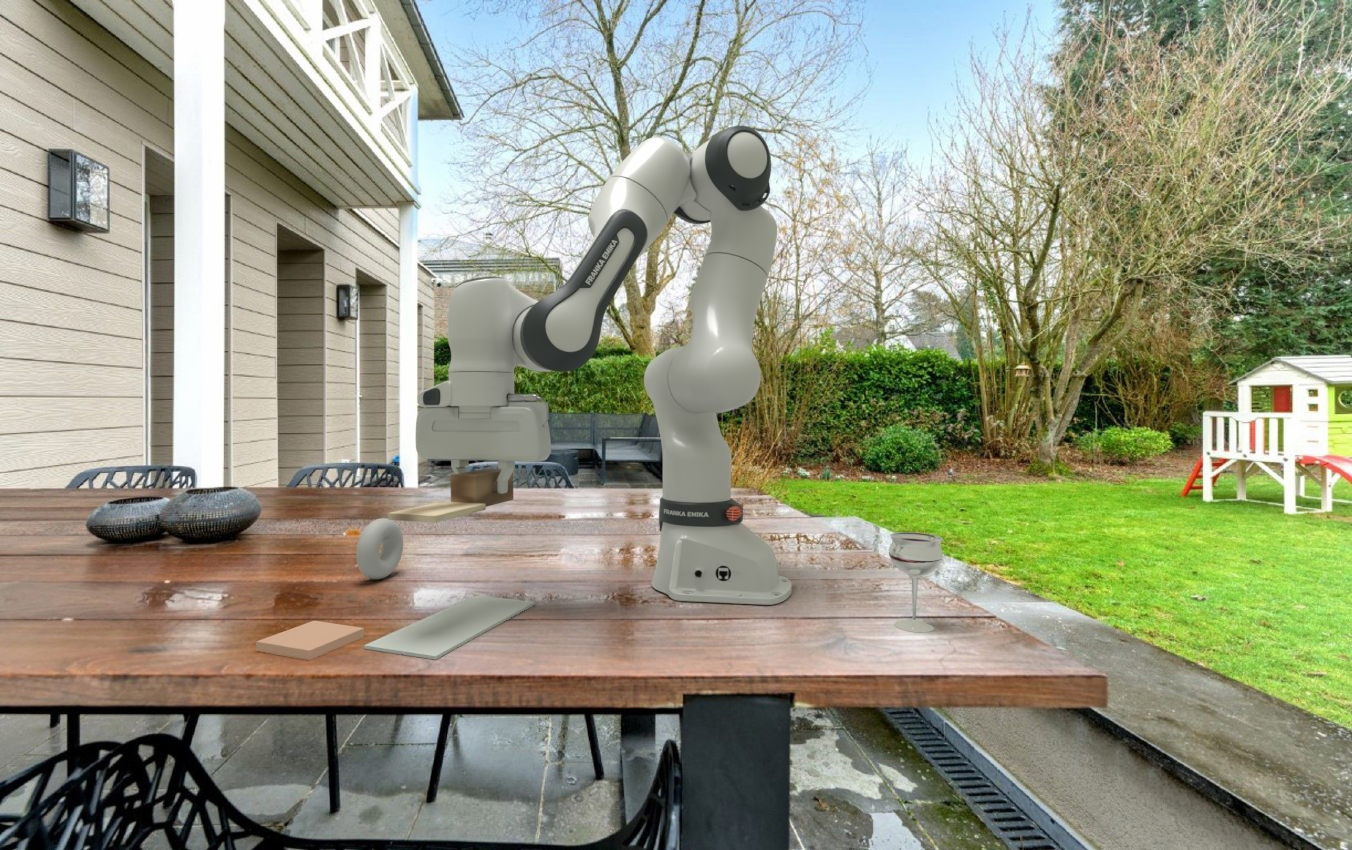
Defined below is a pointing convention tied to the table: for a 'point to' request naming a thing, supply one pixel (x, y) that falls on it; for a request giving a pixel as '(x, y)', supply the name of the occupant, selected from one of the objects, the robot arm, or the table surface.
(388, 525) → the donut
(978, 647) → the table surface
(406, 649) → the mat
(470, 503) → the stepped slab stack
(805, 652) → the table surface
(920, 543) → the wineglass
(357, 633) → the tile
